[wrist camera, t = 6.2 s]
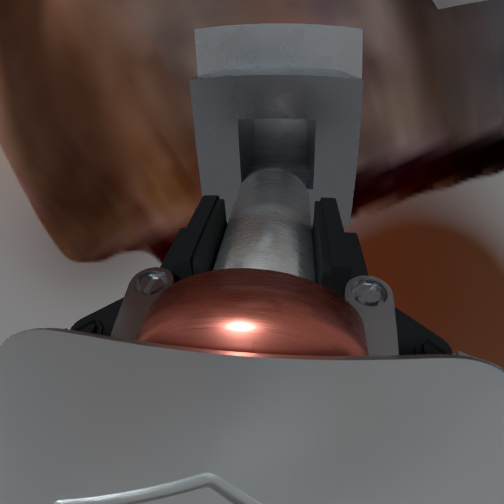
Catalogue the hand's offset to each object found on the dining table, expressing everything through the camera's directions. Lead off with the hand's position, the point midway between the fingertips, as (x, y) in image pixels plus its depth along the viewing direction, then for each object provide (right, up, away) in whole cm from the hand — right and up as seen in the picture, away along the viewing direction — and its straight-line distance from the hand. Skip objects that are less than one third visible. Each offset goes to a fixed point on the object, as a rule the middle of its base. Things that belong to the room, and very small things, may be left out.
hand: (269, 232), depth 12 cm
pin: (0, +2, +2) cm, 3 cm away
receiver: (+2, +11, +15) cm, 19 cm away
